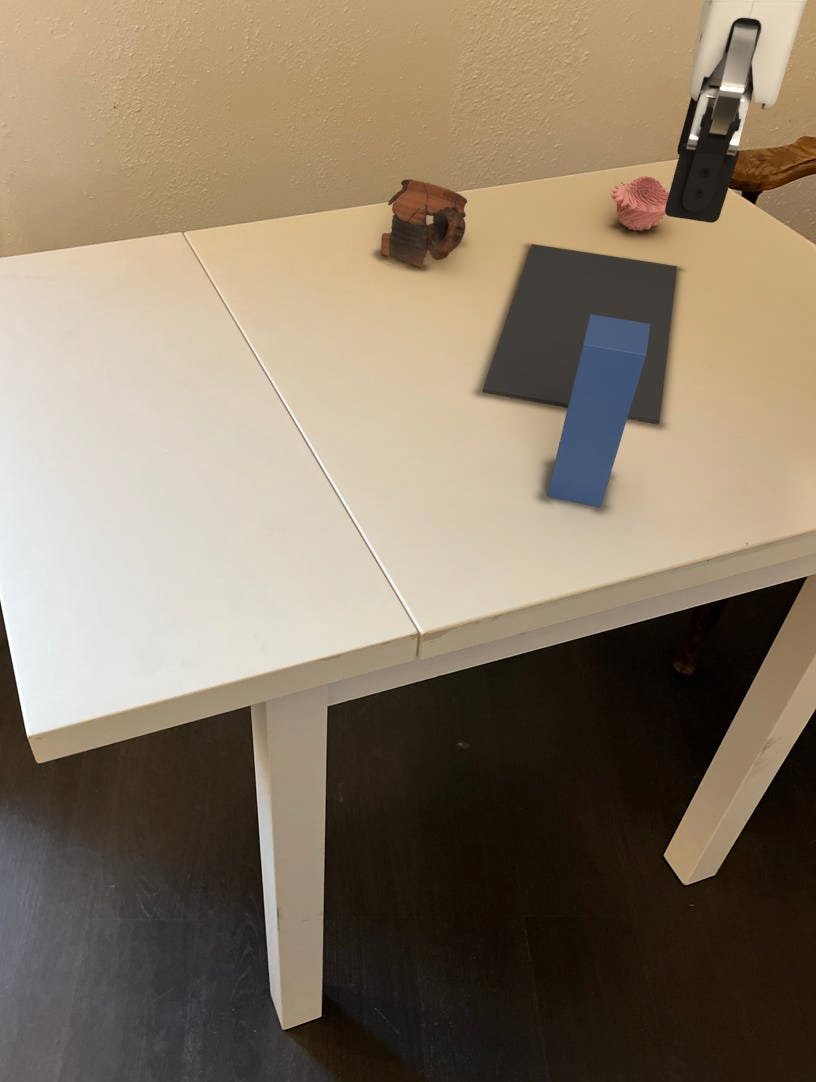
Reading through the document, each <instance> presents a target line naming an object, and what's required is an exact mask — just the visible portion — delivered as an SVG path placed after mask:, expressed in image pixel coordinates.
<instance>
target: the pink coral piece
mask: <svg viewBox="0 0 816 1082" xmlns="http://www.w3.org/2000/svg"><path fill="white" fill-rule="evenodd" d="M613 188H615V189H609V191H610V192H612V193H613V194H610V195H609V197H610V198H611V199H613V202H615V204H616V213H618V217H619V222H620V223H621V224H622V225H623V226H625V227H626V228H628V230H633V231H635V232H636V231H640V232H643V231H644V230H648V231H649V230H650V228H652V227H654V226H657V225H658V223H659V222H660V220H662V219H663V218H664V216H665V215H666V213H665V207H666V203H667V199H668V196H669V192H670V191H667V187H666V186H664V187H663V185H662V182H661V181H660V180H659V179H656V178H655V177H653V176H640V177H637V178H634V179H633V180H631V181H630V182H629V183H624V182H620V185H613Z"/></svg>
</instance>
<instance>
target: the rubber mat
mask: <svg viewBox="0 0 816 1082" xmlns="http://www.w3.org/2000/svg"><path fill="white" fill-rule="evenodd" d="M677 271H678V266H677V265H672V264H667V263H661V262H660V263H658V262H652V261H646V260H638V259H634V258H633V259H632V258H626V257H619V256H614V255H606V254H599V253H594V252H587V251H580V250H574V249H569V248H568V249H567V248H560V247H554V246H548V245H541V244H535V243H532V244H531V245H530V248H529V251H528V254H527V257H526V259H525V263H524V266H523V269H522V273H521V276H520V278H519V281H518V283H517V286H516V287H517V288H516V290H515V293H514V296H513V299H512V301H511V305H510V308H509V310H508V314H507V317H506V320H505V323H504V326H503V329H502V331H501V335H500V338H499V341H498V343H497V346H496V349H495V353H494V356H493V359H492V360H491V365H490V368H489V370H488V373H487V376H486V379H485V383H484V385H483V389H482V393H485V394H491V395H497V396H501V397H507V398H511V399H512V398H514V399H518V400H524V401H529V402H535V403H541V404H545V405H551V406H557V407H562V408H567V409H568V405H569V401H570V397H571V392H572V388H573V384H574V380H575V376H576V372H577V367H578V363H579V359H580V355H581V351H582V346H583V342H584V338H585V334H586V330H587V326H588V321H589V317H590V314H593V315H599V316H605V317H611V318H617V319H623V320H629V321H635V322H642V323H648V324H650V331H649V338H648V345H647V353H646V357H645V361H644V364H643V367H642V371H641V374H640V377H639V381H638V384H637V388H636V391H635V394H634V398H633V401H632V404H631V408H630V411H629V414H628V418H627V420H628V419H630V420H634V421H640V422H644V423H645V422H646V423H651V424H656V425H659V424H660V422H661V414H662V404H663V396H664V395H663V394H664V387H665V386H664V385H665V378H666V367H667V359H668V351H669V342H670V333H671V325H672V324H671V323H672V314H673V306H674V296H675V287H676V279H677Z"/></svg>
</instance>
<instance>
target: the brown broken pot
mask: <svg viewBox="0 0 816 1082" xmlns="http://www.w3.org/2000/svg"><path fill="white" fill-rule="evenodd" d="M400 184H401V185H402V186H401V187H402V188H401V189H400V190H399V191H398V192H396V193H395V194H394V195H393V196H392V197H391V198H390V199H389V200H388V203H387V205H388V206H391V211H392V214H393V215H392V218H391V227H390V228H391V230H390V231H391V232H383V233H382V235H381V239H380V254H381V255H382V256H385V257H389V258H392V259H395V260H396V261H398V262H401V263H404V264H408V265H411V266H414V267H416V268H417V267H418V268H420V269H421V268H423V266H424V263H425V259H426V257H427V255H428V252H429V254H430V256H431V258H433V259H434V260H435V261H441V260H443V259H446V258H448V256H449V255H450V253H452V252H453V251H455V249H456V248H458V246H459V245H460V244H461V242H462V240H463V238H464V235H465V232H466V221H465V218H466V217H467V214H466V212H465V207H466V205H467V204H468V199H467V198H466V197H464V196H463V195H462V194H460V193H459V192H456V191H453V190H451V189H449V188H446V187H443V186H439V185H437V184H434V183H430V182H424V181H420V180H417V179H416V180H415V179H411V178H410V179H403V180H402V181H401V182H400ZM427 216H430V217H432V223H430V224H427Z"/></svg>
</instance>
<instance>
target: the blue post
mask: <svg viewBox="0 0 816 1082" xmlns="http://www.w3.org/2000/svg"><path fill="white" fill-rule="evenodd" d="M649 331H650V324H648V323H642V322H635V321H629V320H623V319H617V318H611V317H605V316H599V315H593V314H590V317H589V321H588V326H587V330H586V334H585V338H584V342H583V346H582V351H581V355H580V359H579V363H578V367H577V372H576V376H575V380H574V384H573V388H572V392H571V397H570V401H569V405H568V408H567V409H566V413H565V417H564V422H563V425H562V426H563V427H562V431H561V434H560V438H559V443H558V447H557V452H556V456H555V459H554V464H553V467H552V473H551V477H550V481H549V485H548V491H547V494H546V497H547V498H552V499H556V500H562V501H567V502H572V503H577V504H583V505H586V506H593V507H598V508H602V505H603V502H604V498H605V495H606V491H607V489H608V485H609V482H610V478H611V475H612V471H613V468H614V465H615V462H616V459H617V455H618V452H619V448H620V445H621V441H622V438H623V435H624V430H625V428H626V424H627V421H628V414H629V411H630V408H631V404H632V401H633V398H634V394H635V391H636V388H637V384H638V381H639V377H640V374H641V371H642V367H643V364H644V361H645V357H646V353H647V345H648V338H649Z"/></svg>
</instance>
